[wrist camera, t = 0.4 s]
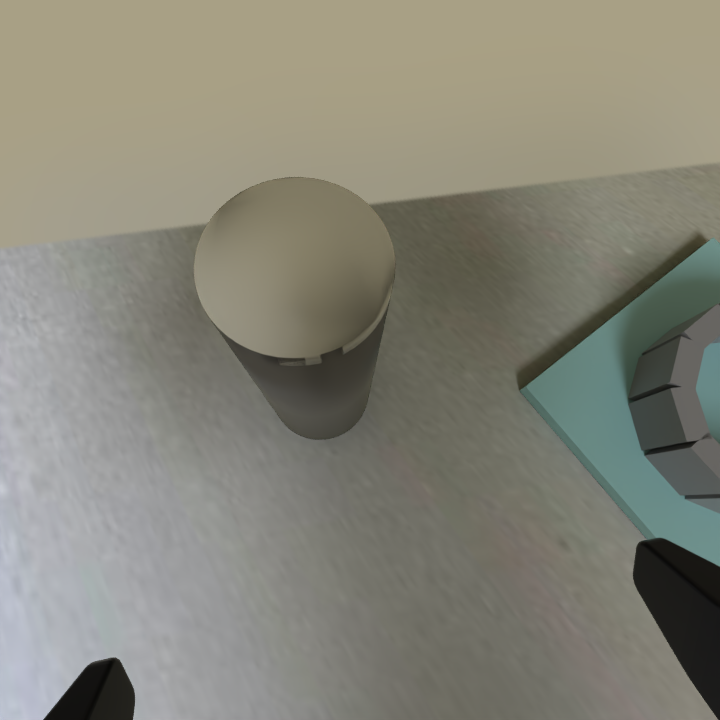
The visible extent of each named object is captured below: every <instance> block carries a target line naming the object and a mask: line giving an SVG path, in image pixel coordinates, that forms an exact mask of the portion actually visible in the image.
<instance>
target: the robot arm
mask: <svg viewBox="0 0 720 720" xmlns="http://www.w3.org/2000/svg"><path fill="white" fill-rule="evenodd" d="M633 580H634V583H635V586H636V588H637V590H638V592H639V594H640V595H641V597H642V599H643V600H644V602H645V604H646V606H647V607H648V609H649V611H650V612H651V614H652V616H653V618H654V619H655V621H656V623H657V624H658V626H659V628H660V630H661V631H662V633H663V635H664V637H665V638H666V640H667V642H668V643H669V645H670V647H671V649H672V650H673V652H674V654H675V655H676V657H677V659H678V661H679V662H680V664H681V665H682V667H683V669H684V670H685V672H686V674H687V675H688V677H689V678H690V680H691V681H692V683H693V684H694V686H695V687H696V689H697V690H698V692H699V693H700V694H701V696H702V697H703V699H704V700H705V702H706V703H707V704H708V706H709V707H710V709H711V710H712V711H713V713H714V714H715V716H716V717H717V719H718V720H720V566H718V565H716V564H714V563H712V562H710V561H708V560H706V559H704V558H702V557H700V556H698V555H696V554H695V553H693V552H691V551H689V550H687V549H685V548H683V547H681V546H679V545H677V544H675V543H673V542H671V541H669V540H667V539H664V538H653V539H648V540H644V541H641V542H639V543H638V545H637V547H636V554H635V562H634V569H633ZM134 707H135V693H134V689H133V686H132V684H131V682H130V680H129V678H128V676H127V674H126V672H125V669H124V667H123V665H122V663H121V662H120V660H119V659H117V658H108V659H104V660H99V661H95V662H92V663H91V664H89V665H88V666H87V667H86V668H85V669H84V670H83V671H82V673H81V674H80V675H79V676H78V678H77V679H76V680H75V681H74V682H73V684H72V685H71V686H70V687H69V689H68V690H67V691H66V692H65V694H64V695H63V696H62V697H61V698H60V700H59V701H58V702H57V703H56V705H55V706H54V707H53V708H52V710H51V711H50V712H49V713H48V715H47V716H46V717H45V718H44V719H43V720H133V715H134Z"/></svg>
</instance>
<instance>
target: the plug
mask: <svg viewBox="0 0 720 720" xmlns="http://www.w3.org/2000/svg"><path fill="white" fill-rule="evenodd" d="M194 278H195V286H196V289H197V293H198V297H199V299H200V301H201V304H202V306H203V308H204V310H205V311H206V313H207V314H208V316H209V318H210V319H211V321H212V322H213V323H214V325H215V326H216V328H217V329H218V331H219V332H220V333H221V335H222V336H223V338H224V339H225V341H226V342H227V343H228V345H229V346H230V348H231V349H232V351H233V352H234V353H235V355H236V356H237V358H238V359H239V361H240V362H241V363H242V365H243V366H244V368H245V369H246V371H247V372H248V373H249V375H250V376H251V378H252V379H253V380H254V382H255V383H256V385H257V386H258V388H259V389H260V390H261V392H262V393H263V395H264V396H265V398H266V399H267V400H268V402H269V403H270V405H271V406H272V408H273V409H274V410H275V412H276V413H277V415H278V416H279V418H280V419H281V420H282V422H283V423H284V424H285V425H286V426H287V427H288V428H289V429H290V430H292V431H293V432H295V433H296V434H298V435H300V436H303V437H306V438H310V439H317V440H322V439H330V438H334V437H337V436H339V435H342V434H344V433H345V432H347V431H348V430H350V429H351V428H352V427H353V426H354V425H355V424H356V423H357V422H358V421H359V419H360V418H361V416H362V415H363V413H364V411H365V408H366V405H367V401H368V396H369V392H370V387H371V382H372V378H373V373H374V369H375V364H376V360H377V355H378V351H379V346H380V342H381V337H382V333H383V328H384V324H385V319H386V315H387V310H388V306H389V301H390V297H391V292H392V288H393V283H394V278H395V253H394V249H393V244H392V241H391V238H390V236H389V233H388V231H387V229H386V227H385V225H384V223H383V222H382V220H381V219H380V217H379V216H378V215H377V213H376V212H375V211H374V210H373V209H372V208H371V207H370V206H369V205H368V204H367V203H366V202H365V201H364V200H362V199H361V198H360V197H358V196H357V195H355V194H354V193H352V192H350V191H349V190H347V189H345V188H343V187H340V186H339V185H336V184H333V183H330V182H327V181H324V180H319V179H314V178H303V177H291V178H290V177H289V178H281V179H274V180H271V181H266V182H263V183H260V184H257V185H255V186H252V187H250V188H248V189H246V190H244V191H242V192H240V193H239V194H237V195H236V196H234V197H233V198H232V199H230V200H229V201H228V202H227V203H225V204H224V205H223V206H222V207H221V208H220V209H219V210H218V211H217V212H216V213H215V214H214V216H213V217H212V218H211V220H210V221H209V223H208V224H207V226H206V227H205V229H204V231H203V233H202V235H201V237H200V240H199V243H198V246H197V249H196V254H195V259H194Z"/></svg>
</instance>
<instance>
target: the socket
mask: <svg viewBox="0 0 720 720" xmlns="http://www.w3.org/2000/svg"><path fill="white" fill-rule="evenodd" d="M520 392H521V393H522V394H523V395H524V396H525V398H526V399H527V400H528V401H529V402H530V403H531V405H532V406H533V407H534V408H535V409H536V410H537V412H538V413H539V414H540V415H541V416H542V417H543V419H544V420H545V421H546V422H547V423H548V424H549V425H550V427H551V428H552V429H553V430H554V431H555V432H556V434H557V435H558V436H559V437H560V438H561V439H562V441H563V442H564V443H565V444H566V445H567V446H568V448H569V449H570V450H571V451H572V452H573V453H574V455H575V456H576V457H577V458H578V459H579V460H580V462H581V463H582V464H583V465H584V466H585V467H586V469H587V470H588V471H589V472H590V473H591V474H592V476H593V477H594V478H595V479H596V480H597V481H598V483H599V484H600V485H601V486H602V487H603V488H604V490H605V491H606V492H607V493H608V494H609V495H610V497H611V498H612V499H613V500H614V501H615V502H616V504H617V505H618V506H619V507H620V508H621V509H622V511H623V512H624V513H625V514H626V515H627V516H628V518H629V519H630V520H631V521H632V522H633V523H634V525H635V526H636V527H637V528H638V529H639V530H640V532H641V533H642V534H643V535H644V536H645V537H646V539H647V540H648V539H653V538H664V539H667V540H669V541H671V542H673V543H675V544H677V545H679V546H681V547H683V548H685V549H687V550H689V551H691V552H693V553H695V554H696V555H698V556H700V557H702V558H704V559H706V560H708V561H710V562H712V563H714V564H716V565H718V566H720V243H719V242H718V241H717V240H716V239H714V238H712V239H711V240H709V241H708V242H706V243H705V244H704V245H702V246H701V247H700V248H699V249H697V250H696V251H695V252H694V253H692V254H691V255H690V256H689V257H687V258H686V259H685V260H683V261H682V262H681V263H680V264H678V265H677V266H676V267H675V268H673V269H672V270H671V271H670V272H668V273H667V274H666V275H665V276H663V277H662V278H661V279H660V280H658V281H657V282H656V283H654V284H653V285H652V286H651V287H649V288H648V289H647V290H646V291H644V292H643V293H642V294H641V295H639V296H638V297H637V298H636V299H634V300H633V301H632V302H631V303H629V304H628V305H627V306H625V307H624V308H623V309H622V310H620V311H619V312H618V313H617V314H615V315H614V316H613V317H612V318H610V319H609V320H608V321H607V322H605V323H604V324H603V325H602V326H600V327H599V328H598V329H597V330H595V331H594V332H593V333H591V334H590V335H589V336H588V337H586V338H585V339H584V340H583V341H581V342H580V343H579V344H578V345H576V346H575V347H574V348H573V349H571V350H570V351H569V352H568V353H566V354H565V355H564V356H562V357H561V358H560V359H559V360H557V361H556V362H555V363H554V364H552V365H551V366H550V367H549V368H547V369H546V370H545V371H544V372H542V373H541V374H540V375H539V376H537V377H536V378H535V379H533V380H532V381H531V382H530V383H528V384H527V385H526V386H525V387H523V388H522V389H521V390H520Z"/></svg>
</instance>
